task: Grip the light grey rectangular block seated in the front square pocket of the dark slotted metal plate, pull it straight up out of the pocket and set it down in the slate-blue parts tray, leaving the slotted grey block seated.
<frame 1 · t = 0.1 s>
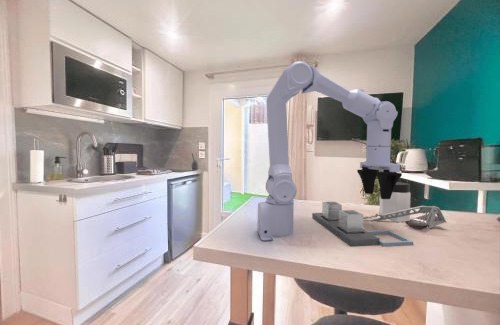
hand: (376, 196, 61), 10 cm above the table, fingers open, 7 cm apart
light grey rectangular block: (350, 235, 56), point 1 cm above the table, touching slotted metal plate
jar: (393, 219, 75), on the table
bracket: (398, 226, 67), on the table
slotted metal plate: (339, 232, 61), on the table
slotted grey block: (331, 223, 66), point 1 cm above the table, touching slotted metal plate
tray: (386, 243, 54), on the table
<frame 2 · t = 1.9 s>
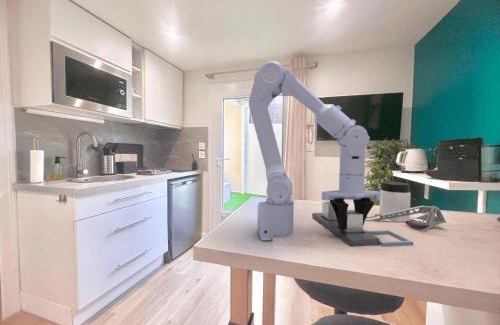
hand: (350, 227, 56), 3 cm above the table, fingers closed on light grey rectangular block, 4 cm apart
light grey rectangular block: (350, 235, 56), point 1 cm above the table, touching gripper, slotted metal plate
everything else where it was.
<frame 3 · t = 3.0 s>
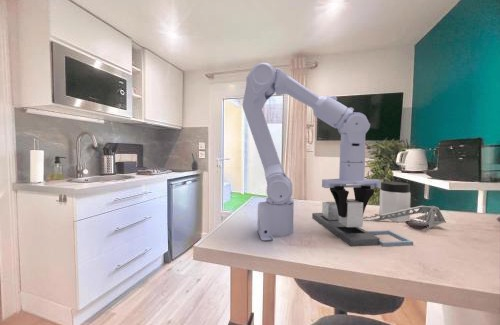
hand: (350, 216, 56), 6 cm above the table, fingers closed on light grey rectangular block, 4 cm apart
light grey rectangular block: (350, 224, 56), point 4 cm above the table, touching gripper
everything else where it was.
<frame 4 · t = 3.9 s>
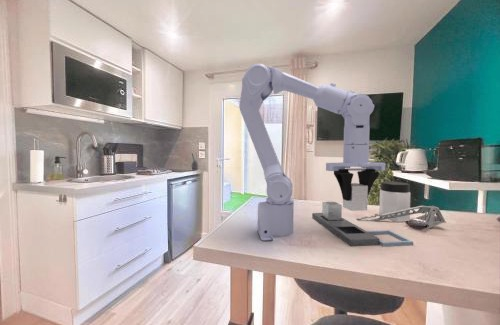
hand: (354, 199, 55), 10 cm above the table, fingers closed on light grey rectangular block, 4 cm apart
light grey rectangular block: (354, 208, 55), point 8 cm above the table, touching gripper
everything else where it was.
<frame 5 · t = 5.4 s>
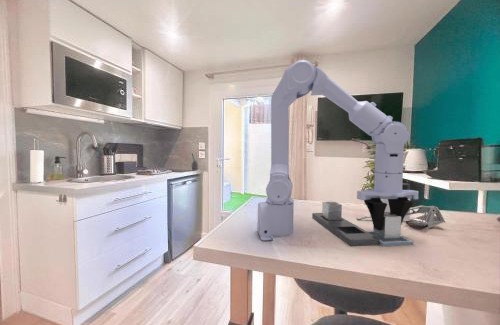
hand: (386, 228, 54), 4 cm above the table, fingers closed on light grey rectangular block, 4 cm apart
light grey rectangular block: (386, 238, 54), point 1 cm above the table, touching gripper
everything else where it was.
when the fingers open (4 cm above the table, at t = 6.2 s): light grey rectangular block stays where it is, resting on tray.
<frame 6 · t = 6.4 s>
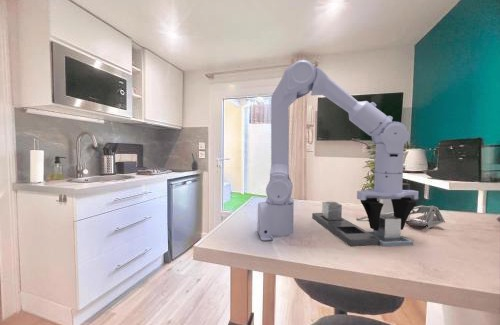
hand: (386, 228, 54), 4 cm above the table, fingers open, 6 cm apart
light grey rectangular block: (386, 240, 54), point 1 cm above the table, touching tray
everything else where it was.
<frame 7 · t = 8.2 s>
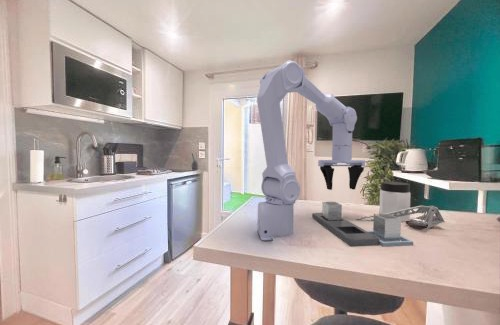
hand: (340, 189, 70), 10 cm above the table, fingers open, 7 cm apart
nothing on the table moved.
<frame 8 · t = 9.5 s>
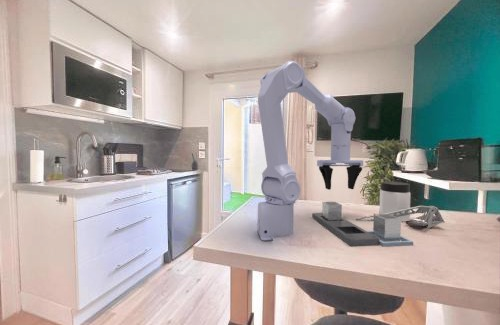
hand: (339, 188, 71), 10 cm above the table, fingers open, 7 cm apart
nothing on the table moved.
at the end: light grey rectangular block 0.0 cm off-centre on the tray, point 0.6 cm above the tray's base; light grey rectangular block touching tray; the gripper is holding nothing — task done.
